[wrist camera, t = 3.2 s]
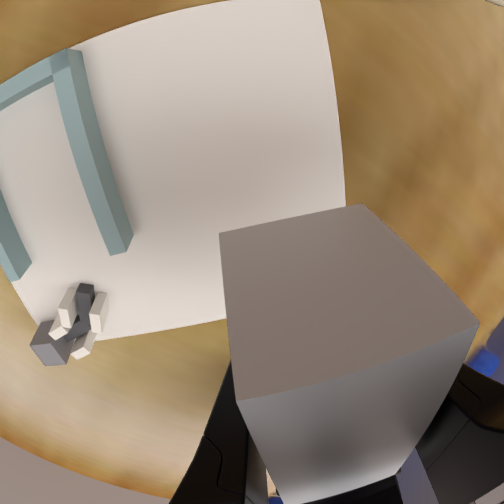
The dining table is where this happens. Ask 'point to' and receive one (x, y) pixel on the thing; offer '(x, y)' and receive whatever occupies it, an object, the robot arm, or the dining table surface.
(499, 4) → the flower pot
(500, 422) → the robot arm
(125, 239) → the holder
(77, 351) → the clips
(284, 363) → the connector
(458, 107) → the dining table surface
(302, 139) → the board
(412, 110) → the dining table surface
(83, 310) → the grey blocky piece
